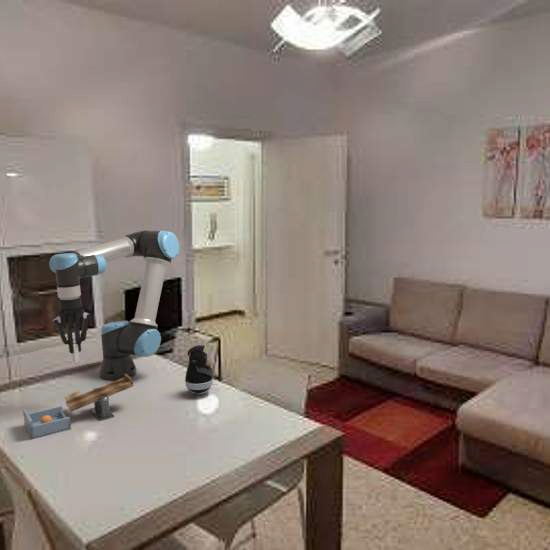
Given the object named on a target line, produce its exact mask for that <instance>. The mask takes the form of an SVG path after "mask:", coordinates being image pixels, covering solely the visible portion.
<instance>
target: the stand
mask: <svg viewBox="0 0 550 550" xmlns="http://www.w3.org/2000/svg"><path fill="white" fill-rule="evenodd" d="M97 388H98V387H95V388H93V389H92V390H94V389H97ZM100 399H101V400H99V401H96V402H94V403H93V404H94V407H92V408H89V409H90V412H91V413H92V414H93V415H94V416H95V418H97V420H98V421H99V422H101V421H105V420H109V419H112V418H115V415H114V413H112V412H111V411H110V400H109V397H108V395H103V396H100Z"/></svg>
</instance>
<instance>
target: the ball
mask: <svg viewBox="0 0 550 550" xmlns="http://www.w3.org/2000/svg"><path fill="white" fill-rule="evenodd" d="M50 421H52V418H51V417H50V416H49V415H45V416H43V417H42V418H41V420H40V423H41V424H42V423H46V422H50Z"/></svg>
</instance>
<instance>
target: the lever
mask: <svg viewBox="0 0 550 550" xmlns="http://www.w3.org/2000/svg"><path fill="white" fill-rule="evenodd" d="M124 376H125V377H124V378H122V379H119V380H113V382H110V383H107V384H104V385H101V386H99V387H96V388H97V389H94V388H93V389H94V390H93V389H92V390H89V391H87V392H85V393H82V392H81V391H79V390H77V391H75V392H73V393H70V394H66V395H65V396H64V399H65V403H66V406H67V407H68V409H69V410H70V412H71V413H72V412H74V411H76V410H79V409H82V408H85V407H86V406H89V405H92V404H94V402H96V401H99V400H101V399H100V396H103V395H108V398H109V397H111V396H113V395H115V394H118V393H120V392H123V391H126V390H128V389H130V388H133V387H134V382H133V378H132V376H131V377H130V376H128V375H127V374H124Z"/></svg>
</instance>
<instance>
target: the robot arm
mask: <svg viewBox="0 0 550 550" xmlns="http://www.w3.org/2000/svg"><path fill="white" fill-rule="evenodd" d="M179 253H180V242H179V240H178V237H177V236H176V234H175V233H173V232H172V231H166V230H140V231H136V232H132V233H129V234H125V235H122V236H120V237H119V238H118V239H116V240H112V241H110V242H106V243H101V244H99V245H94V246H91V247H87V248H83V249H80V250H76V251H72V252H68V253H58V254H54V255H52V256H51V257H50V260H49V264H48V265H49V269H50V270H51V271H52V272H53V273H55V280H56V290H57V297H58V298H59V299H58V308H59V312H58V316H56V317H55V318H52V320H51V321H52V323H53V324H54V325H55V326H56V328H57V332H58V333H59V336H60V339H61V340H62V343H63V344H64V345H67V346H68V350H69V351H68V352H69V353H70V354H71V355H72V361H73V362H74V363H79V362H80V353H81V352H82V342H84V341H86V338H87V334H88V325H89V321H90V318H91V317H92V315H91V314H90V313H88V312H85V310H84V308H83V304H82V303H83V302H82V301H83V300H82V297H81V296H82V292H81V283H80V279H83V278H88V277H94V276H98V275H101V274H104V273H105V271H106V270H107V263H108V262H111V261H114V260H118V259H121V258H125V259H129V258H133V257H143V260H144V262H145V268H144V271H143V277H142V280H141V281H142V282H141V285H140V286H141V287H140V291H139V295H138V301H137V305H136V309H135V313H134V318H132V319H131V320H129V321H128V320H119V321H118V320H117V321H111V322H108V323H105V324H103V325H102V326H101V332H100V336H101V348H102V349H101V350H102V362H101V365H100V368H99V376H100V378H101V379H104V380H105V381H107V380H108V381H117V380H119V379H122V378H124V377H125V376H124V374H127V375H128V376H130V377H131V378H132V377H133V376H134V375H136V374H137V365H136V364H135V361H134V360H133V356H137V357H144V358H145V357H151V356H152V355H154V354H155V353H156V352H157V351H158V350H159V348H160V345H161V341H162V336H161V332H159V330H158V324H157V323H156V319H157V314H158V308H159V303H160V301H161V300H160V298H161V294H162V289H163V284H164V280H165V273H166V269H167V267H168V266H170V265H171V263H172V259H175V258H176V257H177V256H178V255H179ZM82 318H83V319H82ZM81 319H82V325H81V331H80V320H81ZM61 322H64V323H65V326H66V327H65V328H66V333H65V331H64V329H63V327H62V324H61ZM73 329H74V330H73ZM73 331H74V336H73ZM66 335H67V336H66ZM73 337H74V338H73ZM74 339H75V342H74ZM132 355H133V356H132Z"/></svg>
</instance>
